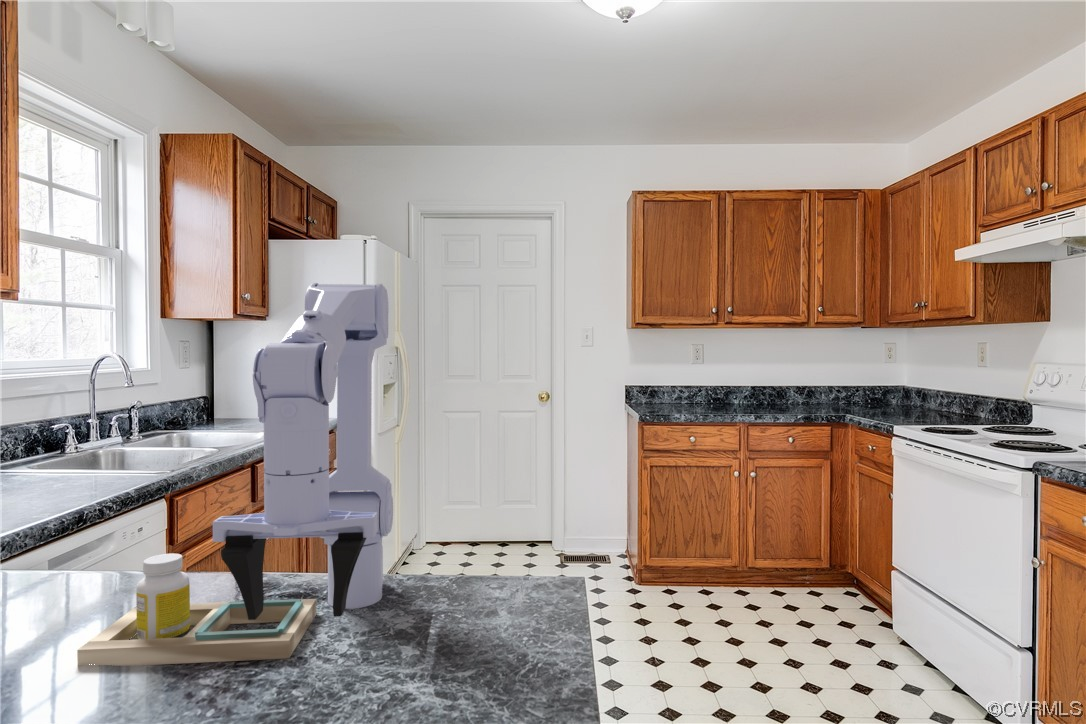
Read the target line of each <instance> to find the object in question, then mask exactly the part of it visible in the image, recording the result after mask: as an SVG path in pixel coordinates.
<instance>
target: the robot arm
mask: <svg viewBox="0 0 1086 724" xmlns="http://www.w3.org/2000/svg"><path fill="white" fill-rule="evenodd" d="M388 337H389V296H388V290H387V288H386V287H385V286H384V284H383V283H376V284H358V283H357V284H355V283H354V284H350V283H349V284H348V283H347V284H345V283H344V284H342V283H341V284H340V283H336V284H335V283H331V284H328V283H317V282H312V283H311V284H310V285H309V286H308V288H307V289H306V292H305V295H304V312H303V314H302V315H300V316H299V317H298V318H297V319H296V320H295V321H294V322H293V324H292V325H291V327H290V328H289V329H288V330H287V332H286V333H285V335H284V336H283V337H282V339H281V340H280V341H279V342H273V343H272V342H270V343H268V344H266V346H265V348H260V349H259V350H257V353H256V355H255V358H254V362H253V368H252V369H253V370H252V371H253V372H252V385H253V390H254V391H253V392H254V395H255V398H256V403H257V418H258V422H259V423H262V424H263V494H264V495H263V498H264V499H263V502H264V503H263V508H264V512H259V513H257V512H256V513H248V514H240V515H237V514H236V515H221V516H219V517H218V518H216V519H214V520H213V521H212V542H213V543H224V542H225V544H224V547H223V548H221V550H220V556H221V557H220V558H221V560H222V561H223V562H224V564H225V565H226V567H227V569H229V571H230V573H231V575H232V576H233V578H234V580H235V582H236V584H237V587H238V589H239V591H240V595H241V597H242V600H243V601H244V604H245V607H246V611H247V616H248V620H256V619H257V617H258V616H259V615H260V614H261V613H262V611H263V604H264V600H265V596H264V595H265V593H264V576H263V575H264V561H265V560H264V559H265V551H266V550H265V548H266V542H267V539H291V538H292V539H296V538H297V539H298V538H299V539H300V538H320V539H323V545H327V603H328V605H329V606H331V607H332V613H333V617H342V616H343V613H345V610H352V609H361V608H365V607H369V606H371V605H375V604H376V603H379V602H380V601H381V599H382V598H383V585H384V555H383V554H384V549H383V548H384V547H383V538H384V537H387V536H388V535H389V533H391V532H392V529H393V528H392V527H393V523H394V521H393V520H394V497H393V495H392V493H393V491H392V483H391V480H390V479H389V477H387V476H386V475H384V474H383V473H381V472H380V471H379V470H378V469H376V468H375V467H374V466H372V404H373V403H372V401H373V399H372V390H373V389H372V388H373V387H372V383H373V382H372V378H373V376H372V373H373V372H372V371H373V370H372V369H373V367H372V366H373V365H372V364H373V359H374V356H375V352H376V350H377V349H379V348H381V347H384V346H386V345H387V340H388ZM336 386H337V387H336ZM336 389H337V390H336ZM336 391H337V392H336ZM335 392H336V398H337V400H336V404H337V405H336V408H337V409H336V469H335V470H334V471H333V472H331V473H330V427H329V425H330V412H329V411H330V406H329V405H330V403H331V402H332V401H333V400H334V398H335V397H334V396H335Z"/></svg>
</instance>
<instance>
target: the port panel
mask: <svg viewBox="0 0 1086 724" xmlns="http://www.w3.org/2000/svg"><path fill="white" fill-rule="evenodd" d="M317 610H318V609H317V598H306V599H304V598H303V599H302V598H297V599H296V598H294V599H293V598H292V599H291V598H290V599H270V600H269V599H267V600H265V599H264V604H263V611H262V613H261V614H260V615H259V616H258V617H257V619H256V620H248V616H247V611H246V607H245V604H244V600H243V601H241V600H239V601H224V602H220V601H219V602H201V603H200V602H199V603H198V602H197V603H196V602H195V603H190V627H191V626H193V628H192V629H190V632H189V633H188V634H187V635H186V636H185V637H181V638H158V639H137V638H136V639H132V638H134V637H135V636H136V635H137V634H136V633H137V605H136V606H135V607H133V608H132V609H131V610H129V611H128V612H126V613H125V614H124V615H122V616H121V617H120V618H118V619H117V620H116V621H115V622H113V623H112V624H111V625H109V626H108V627H106V628H105V629H103V630H102V631H101V632H99V633H98V634H97V635H95V636H94V637H93V638H91V639H90V640H89V641H88V642H86V643H85V644H83V645H82V646H81V647H79V648H78V649H77V650H76V651H77V654H76V655H77V666H78V667H81V665H89V664H90V665H91V664H92V665H94V664H95V665H109V666H110V665H112V666H113V665H114V666H155V665H157V666H158V665H171V664H172V665H173V664H175V665H178V664H196V663H197V664H198V663H200V664H201V663H218V662H238V661H242V662H243V661H259V660H282V659H285V660H286V659H290V658H291V656H292V655H293V653H294V651H295V650H296V649H297V646H298V645H299V644H300V642H301V640H302V638H303V636H304V635H305V633H306V632H307V631H308V629H309V627H310V625H311V624H312V622H313V621H314V619H315V617H316V615H317ZM261 623H279V624H278V625H277V627H276V628H271V629H270V628H269V629H267V628H266V629H248V630H247V629H246V630H245V629H244V630H226V629H227V628H228V627H229V626H230V625H235V624H237V625H238V624H239V625H241V624H261ZM135 634H136V635H135ZM134 635H135V636H134ZM133 636H134V637H133ZM131 637H132V638H131ZM130 638H131V639H130ZM129 639H130V640H129ZM79 665H80V666H79ZM112 666H111V667H112ZM114 666H113V667H114Z"/></svg>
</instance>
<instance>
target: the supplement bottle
mask: <svg viewBox="0 0 1086 724" xmlns="http://www.w3.org/2000/svg"><path fill="white" fill-rule="evenodd" d="M183 557H184V556H183V555H182V554H180V553H170V552H169V553H162V554H161V553H160V554H156V555H153V556H150V557H148V558H145V559H144V560H143V562H142V563H143V564H142V565H143V567H142V569H143V570H142V571H143V575H144V577H143V578H141V579H140V580H139V581H138V582H137V584H136V588H135V589H136V590H135V595H136V598H135V599H136V602H135V603H136V604H135V605H136V606H137V634H136V639H158V638H181V637H185V636H186V635H187V634H188V633H189V632H190V631H191V626H190V604H191V603H190V602H191V600H190V598H191V595H190V594H191V592H190V591H191V590H190V589H191V588H190V577H189V575H188V574H187V573H186V572H184V571H181V570H182V568H183V566H184V562H183Z"/></svg>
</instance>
